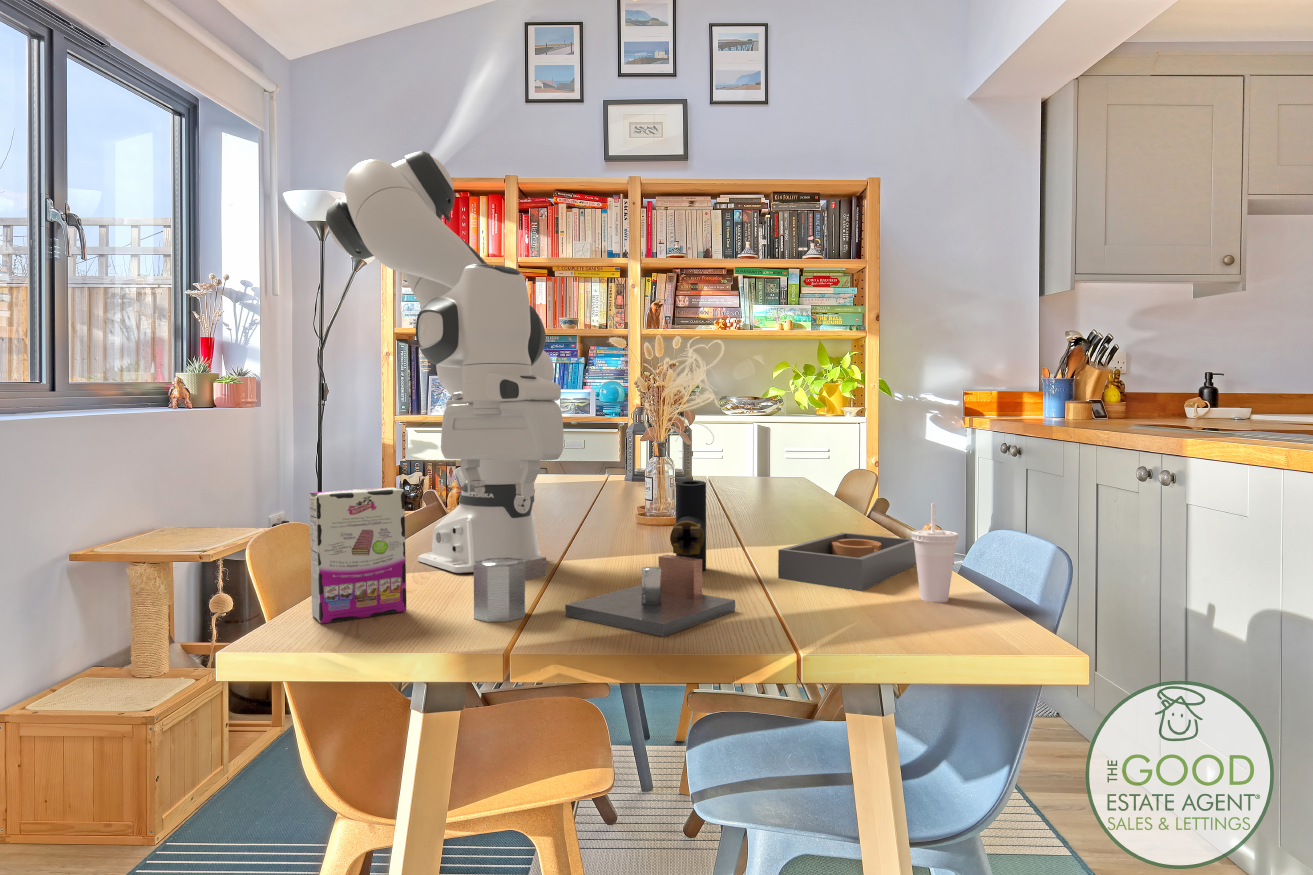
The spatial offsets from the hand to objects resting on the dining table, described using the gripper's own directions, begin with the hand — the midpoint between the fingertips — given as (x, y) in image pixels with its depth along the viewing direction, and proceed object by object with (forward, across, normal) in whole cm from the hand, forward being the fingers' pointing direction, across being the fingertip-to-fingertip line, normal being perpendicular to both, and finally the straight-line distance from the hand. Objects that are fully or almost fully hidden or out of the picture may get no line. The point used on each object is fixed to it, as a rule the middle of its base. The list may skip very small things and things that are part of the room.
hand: (500, 495), depth 104 cm
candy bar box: (+16, -16, -11) cm, 25 cm away
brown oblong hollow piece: (+19, +17, +61) cm, 66 cm away
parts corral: (+17, +24, +54) cm, 62 cm away
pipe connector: (+16, +4, +36) cm, 40 cm away
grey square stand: (+16, +14, +13) cm, 25 cm away
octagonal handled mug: (+16, -1, 0) cm, 16 cm away
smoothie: (+17, +41, +44) cm, 63 cm away
